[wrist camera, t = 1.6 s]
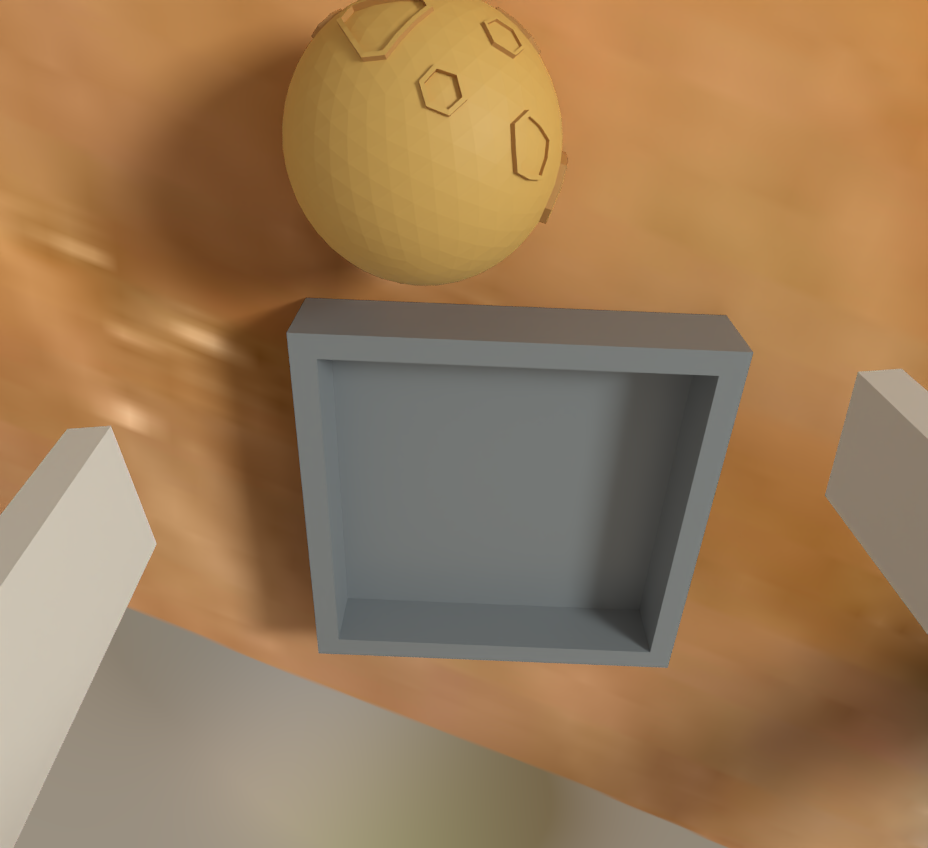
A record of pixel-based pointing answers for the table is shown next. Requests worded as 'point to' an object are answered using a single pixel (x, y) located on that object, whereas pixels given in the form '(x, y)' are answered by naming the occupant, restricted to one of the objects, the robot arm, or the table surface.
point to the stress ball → (423, 137)
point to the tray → (508, 475)
